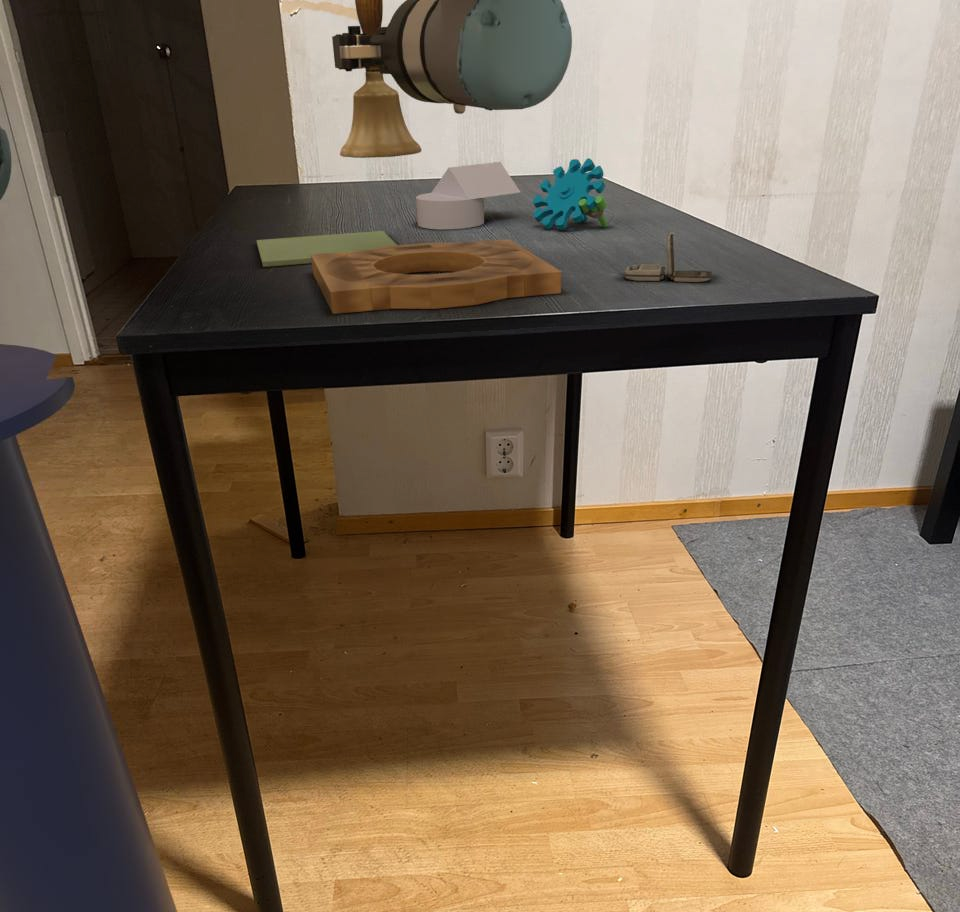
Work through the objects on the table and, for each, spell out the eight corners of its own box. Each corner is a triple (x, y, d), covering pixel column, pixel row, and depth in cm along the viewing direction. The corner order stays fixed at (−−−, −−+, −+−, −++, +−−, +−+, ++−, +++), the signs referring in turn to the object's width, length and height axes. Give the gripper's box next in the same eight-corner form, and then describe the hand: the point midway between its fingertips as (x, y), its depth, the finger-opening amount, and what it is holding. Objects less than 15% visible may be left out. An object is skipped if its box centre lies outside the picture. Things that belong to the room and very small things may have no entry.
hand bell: (403, 147, 94) (388, -42, 85) (434, 153, 88) (421, -50, 78) (329, 154, 91) (305, -40, 82) (356, 161, 85) (333, -49, 76)
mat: (263, 267, 99) (262, 261, 98) (257, 245, 110) (256, 240, 110) (403, 256, 102) (402, 250, 101) (383, 235, 113) (383, 230, 113)
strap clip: (623, 280, 88) (625, 235, 86) (626, 274, 91) (629, 229, 88) (710, 283, 86) (715, 236, 84) (711, 276, 89) (716, 230, 86)
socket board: (334, 318, 79) (331, 295, 78) (311, 271, 96) (309, 252, 95) (566, 296, 83) (566, 274, 82) (505, 255, 100) (505, 236, 99)
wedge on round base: (482, 212, 126) (405, 223, 120) (480, 159, 122) (401, 168, 116) (520, 219, 120) (441, 231, 114) (520, 164, 116) (439, 173, 110)
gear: (516, 211, 115) (562, 146, 114) (537, 240, 120) (582, 178, 119) (572, 234, 109) (622, 165, 108) (592, 264, 114) (640, 199, 112)
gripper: (360, 108, 70) (288, 98, 88) (525, 99, 75) (425, 91, 93) (350, -8, 66) (277, 6, 84) (526, -10, 71) (421, 4, 89)
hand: (355, 50), depth 89 cm, fingers closed on hand bell, 2 cm apart
